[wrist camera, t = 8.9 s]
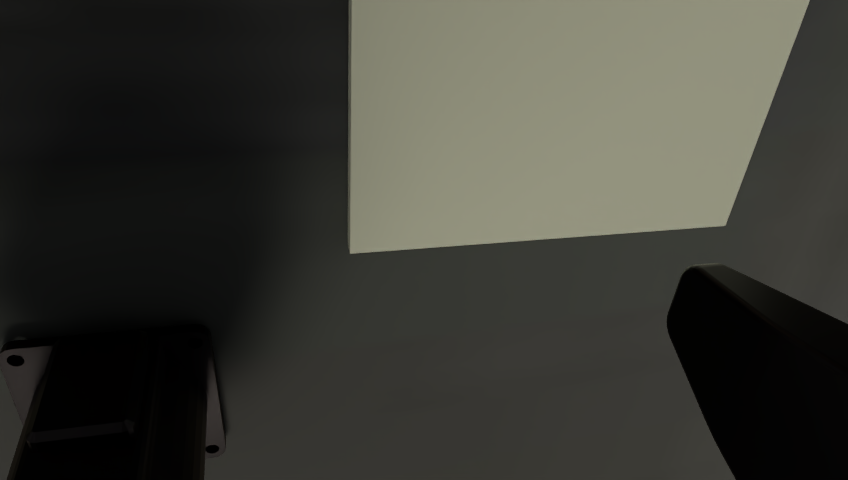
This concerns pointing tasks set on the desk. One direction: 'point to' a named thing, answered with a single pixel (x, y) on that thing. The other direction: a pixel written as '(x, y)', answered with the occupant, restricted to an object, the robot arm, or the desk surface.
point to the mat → (554, 115)
